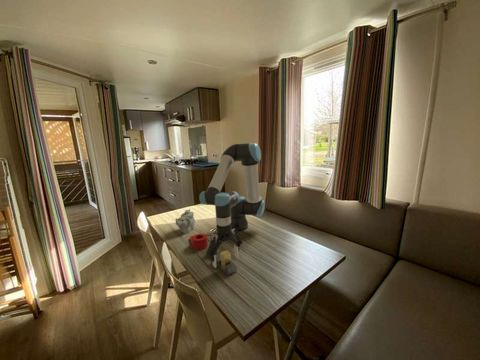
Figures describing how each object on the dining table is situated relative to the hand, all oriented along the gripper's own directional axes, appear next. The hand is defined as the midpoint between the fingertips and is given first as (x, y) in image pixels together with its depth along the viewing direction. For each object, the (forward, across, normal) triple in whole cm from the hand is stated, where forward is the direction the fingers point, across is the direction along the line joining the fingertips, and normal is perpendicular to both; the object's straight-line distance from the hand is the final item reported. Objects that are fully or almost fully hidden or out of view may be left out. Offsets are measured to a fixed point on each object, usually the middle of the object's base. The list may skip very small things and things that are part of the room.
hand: (226, 261), depth 107 cm
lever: (+4, -2, +34) cm, 34 cm away
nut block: (+3, 0, 0) cm, 3 cm away
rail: (+4, 0, +6) cm, 7 cm away
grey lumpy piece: (+4, -1, +56) cm, 56 cm away
